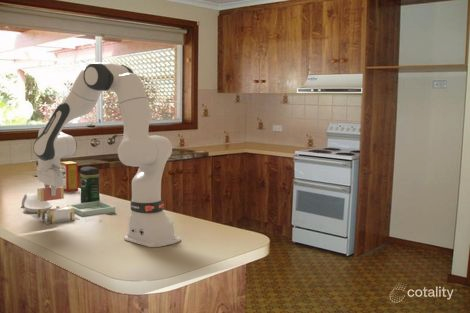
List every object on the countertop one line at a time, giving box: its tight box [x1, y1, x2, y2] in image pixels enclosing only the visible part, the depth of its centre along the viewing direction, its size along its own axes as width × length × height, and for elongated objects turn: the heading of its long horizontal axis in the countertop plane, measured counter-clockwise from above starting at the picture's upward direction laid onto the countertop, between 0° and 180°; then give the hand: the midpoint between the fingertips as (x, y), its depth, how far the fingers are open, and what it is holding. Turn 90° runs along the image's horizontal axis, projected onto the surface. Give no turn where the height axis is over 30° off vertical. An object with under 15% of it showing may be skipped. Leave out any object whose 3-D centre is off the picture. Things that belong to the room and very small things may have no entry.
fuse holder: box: [31, 205, 81, 226], centre depth 206 cm, size 19×14×6 cm
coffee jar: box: [79, 165, 101, 203], centre depth 238 cm, size 10×8×19 cm
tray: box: [66, 200, 116, 217], centre depth 220 cm, size 16×16×3 cm
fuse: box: [36, 186, 65, 202], centre depth 209 cm, size 4×10×5 cm, turn 132°
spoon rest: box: [21, 192, 53, 214], centre depth 222 cm, size 24×12×7 cm, turn 41°
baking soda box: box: [59, 160, 79, 192], centre depth 272 cm, size 10×6×16 cm
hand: (50, 194), depth 209 cm, fingers closed on fuse, 4 cm apart
